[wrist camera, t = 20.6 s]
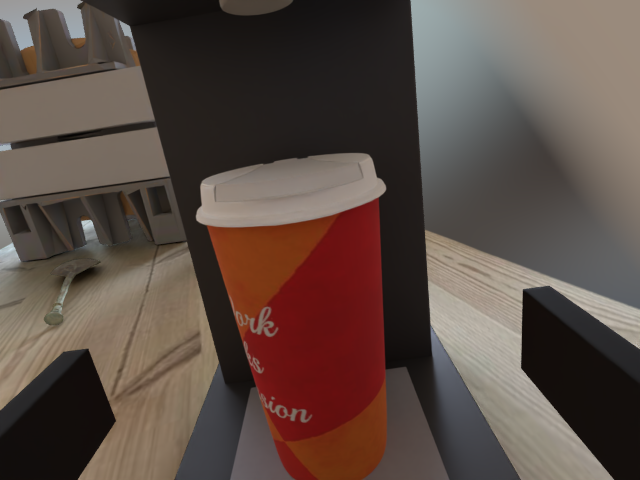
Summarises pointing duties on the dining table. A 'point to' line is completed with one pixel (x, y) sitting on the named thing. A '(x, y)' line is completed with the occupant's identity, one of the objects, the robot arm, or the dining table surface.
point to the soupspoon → (66, 285)
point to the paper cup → (308, 304)
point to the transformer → (79, 139)
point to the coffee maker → (300, 142)
